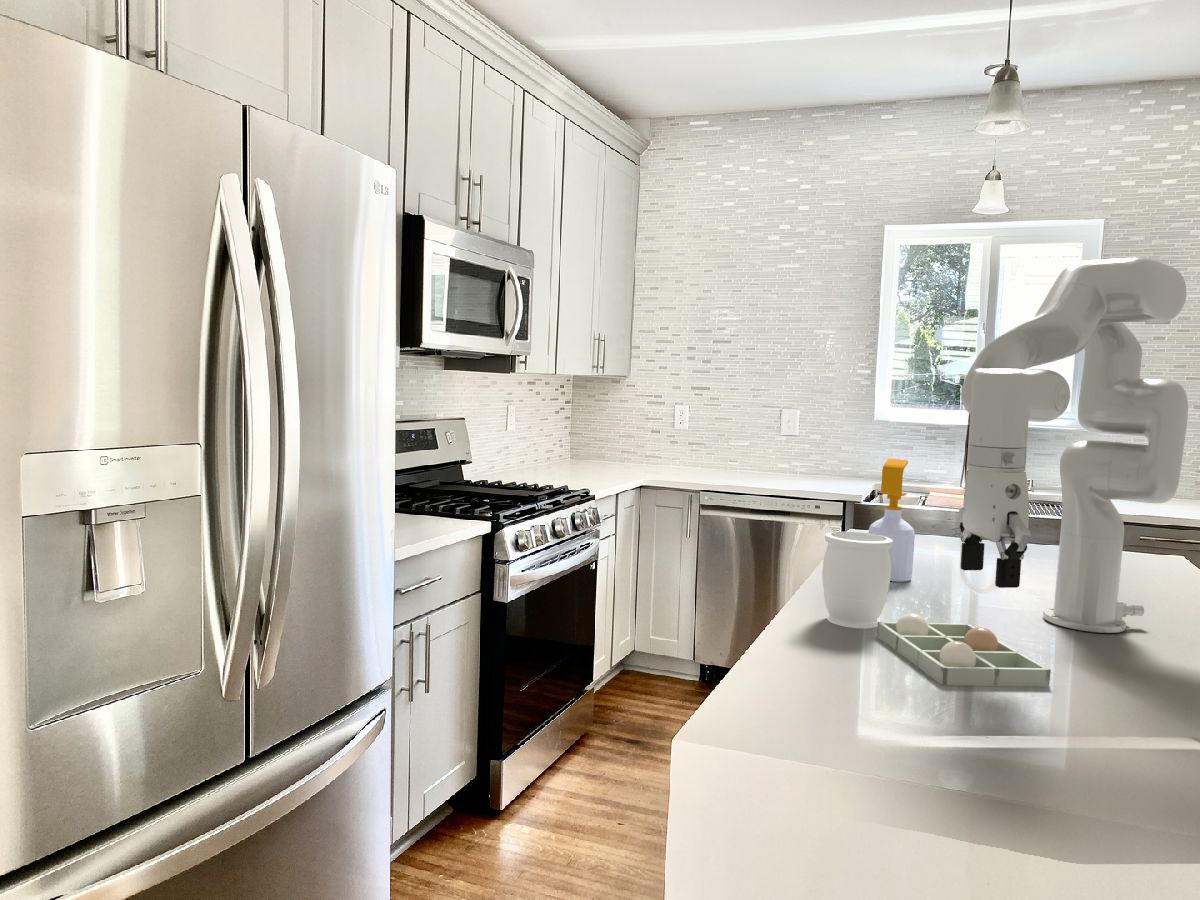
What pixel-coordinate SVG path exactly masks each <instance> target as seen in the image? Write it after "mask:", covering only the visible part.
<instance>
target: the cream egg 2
mask: <svg viewBox="0 0 1200 900" xmlns="http://www.w3.org/2000/svg"><path fill="white" fill-rule="evenodd" d="M939 660H940V663H941V664H943V665H944V666H946V667H975V665H976V655H975V653H974V651H973V649H972V648H971V647H970V646H969V645H967V644H966V643H964V642H961V641H952V642H949V643H947V644H945V645H944V646H943V647H942V649H941V651H940V654H939Z"/></svg>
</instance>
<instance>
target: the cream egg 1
mask: <svg viewBox="0 0 1200 900" xmlns="http://www.w3.org/2000/svg"><path fill="white" fill-rule="evenodd" d="M927 623H928V622H927V620H926V619H925V618H924V616H922V615H920V614H917V613H915V612H914V613H913V612H911V613H910V612H908V613H905V614H903V615H901V616H900V618H899V619H898V620H897V625H896V631H897V633H898V634H900V635H911V636H928V632H929V627H928V624H927Z"/></svg>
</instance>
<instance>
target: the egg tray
mask: <svg viewBox="0 0 1200 900" xmlns="http://www.w3.org/2000/svg"><path fill="white" fill-rule="evenodd" d="M877 622H878V626H877V627H876V628H877V629H876V637H877V638H878V639H880V640H881V641H883V642H884V643H885V644H886V645H888V646H889V647H891V648H892V649H893V650H894V651H896V652H897V653H898V654H900V655H901V656H902V657H904V658H905V659H906V660H908V661H909V662H911V664H914V665H915V666H916V667H917V668H919V669H920V670H922V672H924V673H926V674H927V675H928V676H929V677H931V678H932V679H934V680H935V681H936V682H938V683H939V684H941V686H979V687H981V686H985V687H987V686H989V687H1048V688H1049V687H1050V682H1051V673H1052V672H1051V670H1052V669H1050V668H1048V667H1046V666H1045V665H1043V664H1041V663H1039V662H1038V661H1036V660H1034V659H1033V658H1030V657H1029V656H1027V655H1025V654H1023V653H1021V652H1019V650H1016V649H1015V648H1013V647H1011V646H1009V645H1007V644H1006V643H1004V642H1002V641H1000V640H999V639H997V640H998V650H997V651H974V653H975V655H976V665H975V667H946V666H944V665H943V664H941V663H940V660H939V654H940V651H941V649H942V647H943V646H944V645H945V644H947V643H949V642H952V641H961V642H963V640H964V637H965V635H966V633H967V632H968V631H969V630H971V629H973V628H976V626H973V625H972V624H970V623H949V622H947V623H946V622H945V623H944V622H942V623H941V622H927V624H928V627H929V632H928V636H911V635H900V634H898V633H897V631H896V625H897V622H898V621H897V622H895V621H892V622H891V621H877Z"/></svg>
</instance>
